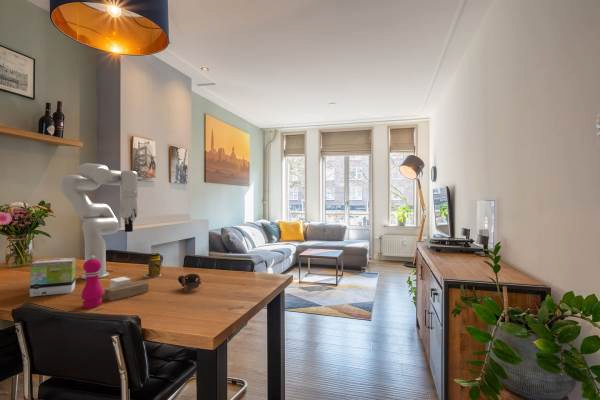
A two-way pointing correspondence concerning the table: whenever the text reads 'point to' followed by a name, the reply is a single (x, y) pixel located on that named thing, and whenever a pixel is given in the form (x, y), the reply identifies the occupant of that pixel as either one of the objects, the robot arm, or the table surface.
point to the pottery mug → (189, 281)
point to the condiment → (154, 265)
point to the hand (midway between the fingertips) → (128, 231)
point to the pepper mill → (92, 284)
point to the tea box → (52, 276)
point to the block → (119, 281)
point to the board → (125, 290)
